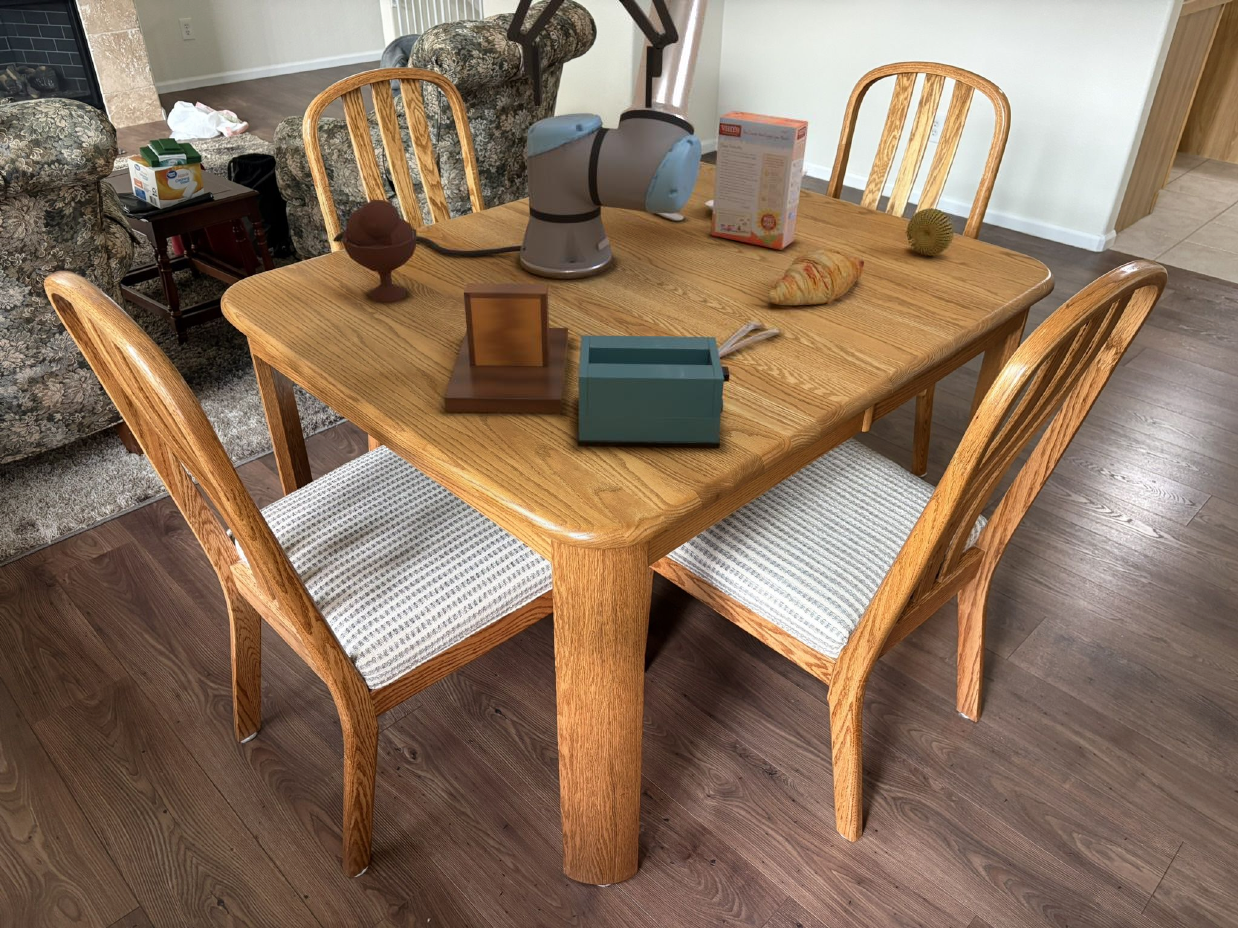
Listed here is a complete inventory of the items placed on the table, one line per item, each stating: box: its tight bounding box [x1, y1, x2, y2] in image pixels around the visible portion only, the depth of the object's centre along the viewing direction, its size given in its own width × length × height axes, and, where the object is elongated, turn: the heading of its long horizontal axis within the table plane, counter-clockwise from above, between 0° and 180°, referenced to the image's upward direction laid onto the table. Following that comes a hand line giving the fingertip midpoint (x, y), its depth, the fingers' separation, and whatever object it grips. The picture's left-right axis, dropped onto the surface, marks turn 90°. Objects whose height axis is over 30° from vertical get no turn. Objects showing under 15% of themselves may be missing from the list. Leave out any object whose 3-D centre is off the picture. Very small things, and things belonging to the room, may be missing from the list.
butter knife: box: [655, 213, 684, 222], centre depth 176 cm, size 1×24×3 cm
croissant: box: [767, 249, 865, 306], centre depth 141 cm, size 21×10×8 cm, turn 130°
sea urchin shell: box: [906, 207, 955, 257], centre depth 155 cm, size 8×4×8 cm, turn 48°
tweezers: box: [718, 320, 781, 358], centre depth 124 cm, size 17×5×2 cm, turn 137°
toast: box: [463, 282, 550, 366], centre depth 114 cm, size 10×3×10 cm, turn 90°
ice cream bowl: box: [341, 199, 418, 303], centre depth 135 cm, size 11×11×15 cm
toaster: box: [576, 334, 731, 449], centre depth 106 cm, size 17×11×9 cm, turn 90°
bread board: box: [444, 327, 569, 414], centre depth 119 cm, size 24×14×2 cm, turn 0°
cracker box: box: [710, 110, 809, 251], centre depth 156 cm, size 14×6×21 cm, turn 58°
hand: (593, 105), depth 111 cm, fingers open, 13 cm apart
